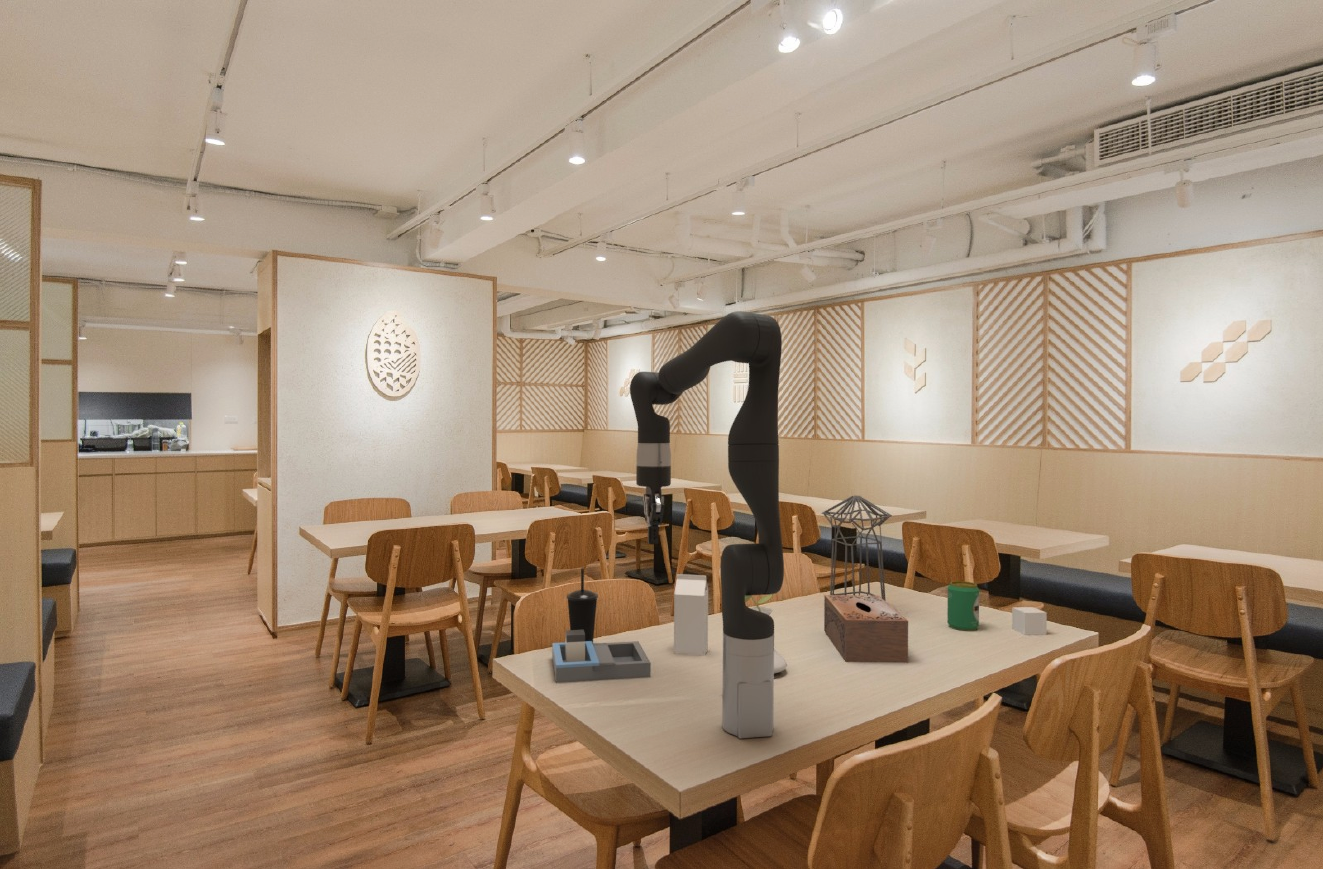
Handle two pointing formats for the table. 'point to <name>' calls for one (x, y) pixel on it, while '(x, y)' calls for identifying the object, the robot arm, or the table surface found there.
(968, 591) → the beverage can
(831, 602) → the tissue box cover
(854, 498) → the geometric lantern
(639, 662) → the divided storage tray
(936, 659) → the table surface
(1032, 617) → the light gray cube
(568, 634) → the gray rectangular block
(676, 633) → the milk carton
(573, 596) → the drinking cup
